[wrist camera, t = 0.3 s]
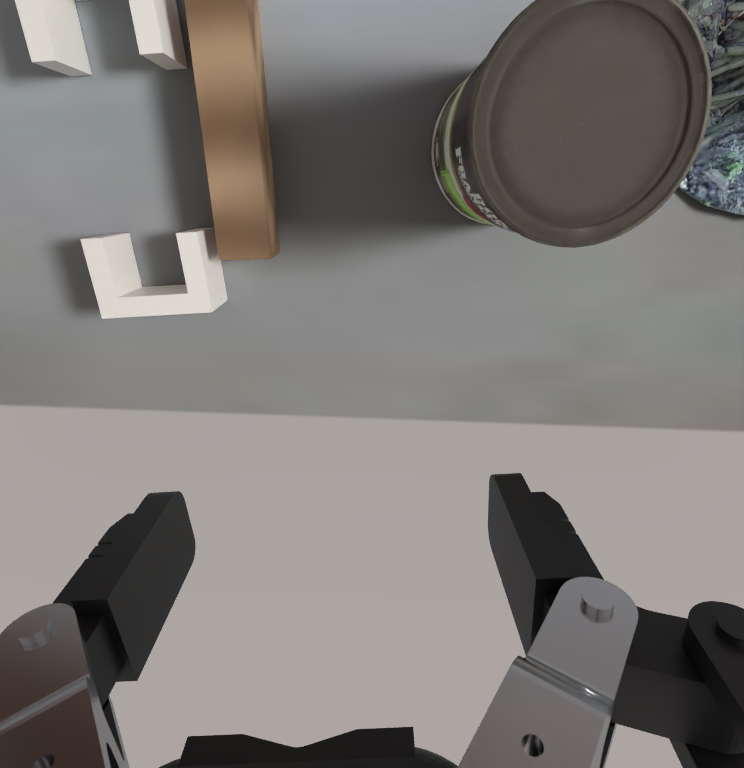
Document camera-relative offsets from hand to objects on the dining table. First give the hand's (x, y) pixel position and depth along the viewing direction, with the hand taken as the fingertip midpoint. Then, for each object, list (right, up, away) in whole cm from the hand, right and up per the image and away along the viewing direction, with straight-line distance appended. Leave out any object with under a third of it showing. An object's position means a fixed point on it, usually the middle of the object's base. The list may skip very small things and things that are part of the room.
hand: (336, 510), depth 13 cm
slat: (-8, +21, +21) cm, 30 cm away
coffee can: (+10, +20, +21) cm, 31 cm away
